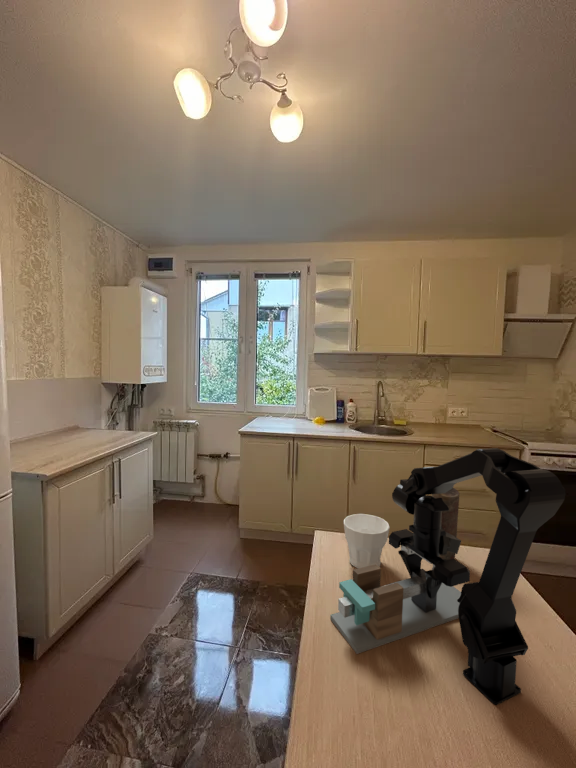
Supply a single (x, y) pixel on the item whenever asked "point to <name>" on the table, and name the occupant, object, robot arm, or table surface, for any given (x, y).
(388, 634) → the bearing block
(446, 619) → the base board
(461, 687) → the table surface
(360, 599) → the spacer
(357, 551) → the cup
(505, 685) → the robot arm
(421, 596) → the shaft
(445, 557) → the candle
